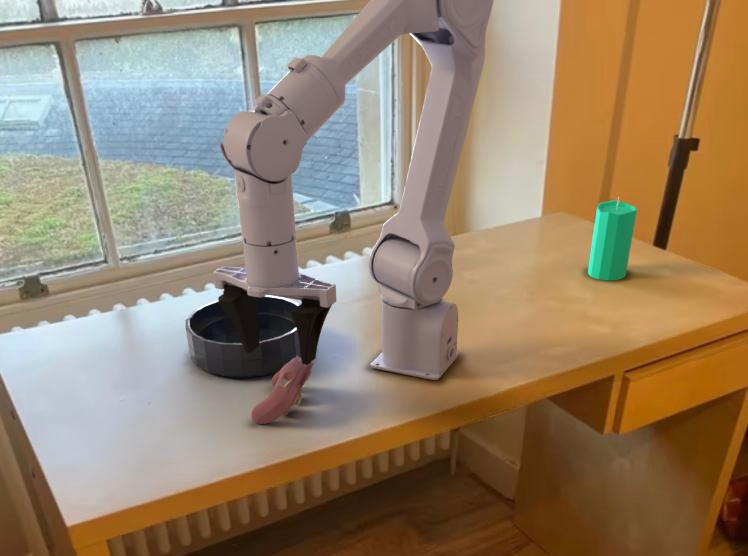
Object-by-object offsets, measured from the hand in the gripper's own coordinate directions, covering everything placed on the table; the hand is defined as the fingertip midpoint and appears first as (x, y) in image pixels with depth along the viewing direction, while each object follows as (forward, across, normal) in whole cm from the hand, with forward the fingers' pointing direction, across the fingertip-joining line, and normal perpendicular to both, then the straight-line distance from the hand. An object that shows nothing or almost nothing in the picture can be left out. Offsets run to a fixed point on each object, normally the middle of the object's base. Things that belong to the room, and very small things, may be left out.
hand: (280, 355), depth 93 cm
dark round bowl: (+7, -12, +11) cm, 18 cm away
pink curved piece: (+7, 0, 0) cm, 7 cm away
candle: (+7, +26, +58) cm, 64 cm away
